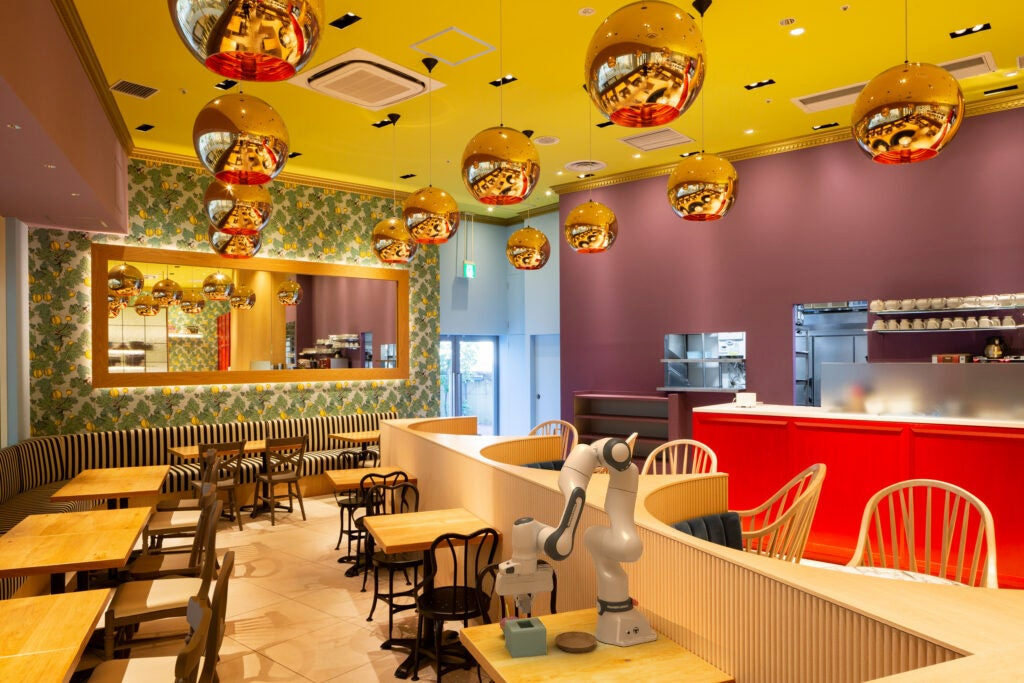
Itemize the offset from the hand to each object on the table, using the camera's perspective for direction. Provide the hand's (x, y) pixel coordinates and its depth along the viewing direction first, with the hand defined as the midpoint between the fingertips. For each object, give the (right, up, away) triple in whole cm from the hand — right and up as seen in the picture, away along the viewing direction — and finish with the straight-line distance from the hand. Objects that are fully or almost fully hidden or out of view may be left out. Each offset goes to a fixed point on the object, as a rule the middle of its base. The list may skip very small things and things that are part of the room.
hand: (524, 606), depth 233 cm
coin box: (0, -15, -1) cm, 15 cm away
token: (0, -2, 0) cm, 2 cm away
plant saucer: (+18, -16, +2) cm, 24 cm away
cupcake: (-5, -16, +11) cm, 20 cm away
